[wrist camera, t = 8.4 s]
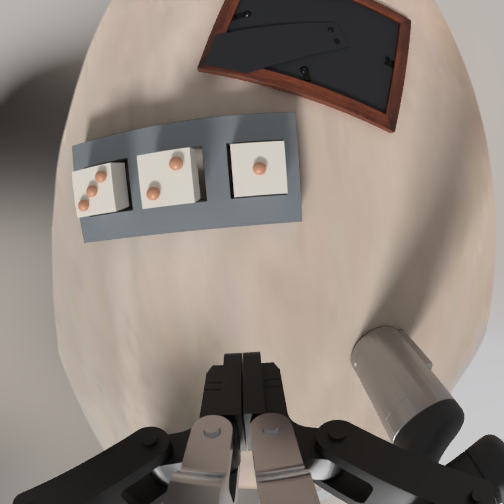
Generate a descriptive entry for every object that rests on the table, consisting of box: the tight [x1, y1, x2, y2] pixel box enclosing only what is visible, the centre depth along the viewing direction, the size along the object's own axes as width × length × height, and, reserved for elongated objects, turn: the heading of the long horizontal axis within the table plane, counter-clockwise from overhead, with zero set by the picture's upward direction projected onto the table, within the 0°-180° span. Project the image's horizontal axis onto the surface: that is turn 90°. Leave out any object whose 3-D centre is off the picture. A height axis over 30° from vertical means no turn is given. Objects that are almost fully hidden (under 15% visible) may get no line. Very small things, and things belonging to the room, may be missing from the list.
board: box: [72, 112, 302, 243], centre depth 30 cm, size 26×12×3 cm, turn 94°
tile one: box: [230, 141, 288, 197], centre depth 27 cm, size 5×5×5 cm
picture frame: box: [197, 0, 411, 133], centre depth 26 cm, size 20×2×25 cm
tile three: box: [72, 163, 129, 218], centre depth 27 cm, size 5×5×5 cm
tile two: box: [137, 147, 200, 209], centre depth 25 cm, size 5×5×5 cm
